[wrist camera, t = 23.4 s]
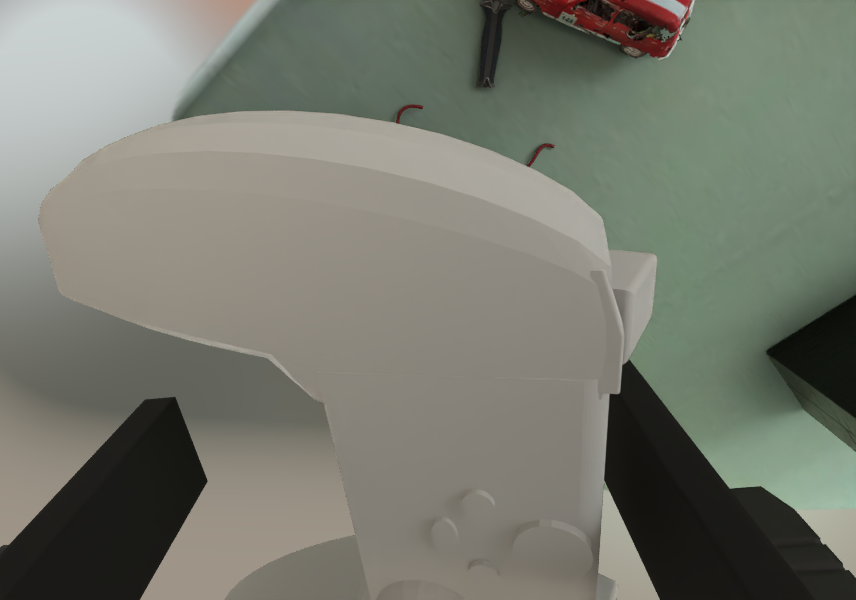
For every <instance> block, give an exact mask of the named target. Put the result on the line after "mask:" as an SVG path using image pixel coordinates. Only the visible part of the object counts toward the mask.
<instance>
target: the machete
mask: <svg viewBox="0 0 856 600" xmlns="http://www.w3.org/2000/svg"><path fill="white" fill-rule="evenodd" d="M480 5H481V6H482V7H484V10H485V13H486V23H485V27H484V31H483V36H482V46H481V61H480V76H479V80H478V83H477V86H478V87H481V86H483V87H490V88H494V75H495V70H496V64H497V59H498V54H499V48H500V43H501V23H502V18H503V16H504V14H505V12H506V11H507V10H509V9H511V8H512V6H511V5H509V4H508V3H506V2H505V0H486V1H483V2H480ZM485 80H487V84H485Z"/></svg>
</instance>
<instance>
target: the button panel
mask: <svg viewBox="0 0 856 600" xmlns="http://www.w3.org/2000/svg"><path fill="white" fill-rule="evenodd" d="M766 353H767V355H768V356H769V358H770V359H771V361H772V362H773V364H774V365H775V367H776V368H777V370H778V371H779V373H780V374H781V376H782V377H783V379H784V380H785V381H786V383H787V385H788V386H789V388H790V389H791V391H792V392H793V394H794V395H795V396H796V398H797V399H798V401H799V402H800V404H801V405H802V407H803V408H804V410H805V411H806V412H807V413H809V414H810V415H811V416H812V417H814V418H815V419H816V420H817V421H818V422H820V423H821V424H822V425H823V426H825V427H826V428H827V429H828V430H830V431H831V432H832V433H833V434H834V435H836V436H837V437H838V438H839V439H841V440H842V441H843V442H844V443H846V444H847V445H848V446H849V447H851V448H852V449H853V450H854V451H855V452H856V295H855V296H854V297H852V298H851V299H849V300H847V301H846V302H844V303H843V304H841V305H839V306H838V307H836V308H835V309H833V310H831V311H830V312H828V313H827V314H825V315H823V316H822V317H820V318H819V319H817V320H815V321H814V322H812V323H811V324H809V325H807V326H806V327H804V328H803V329H801V330H799V331H798V332H796V333H794V334H793V335H791V336H790V337H788V338H786V339H785V340H783V341H782V342H780V343H778V344H777V345H775V346H774V347H772V348H770V349H769V350H767V351H766Z"/></svg>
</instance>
